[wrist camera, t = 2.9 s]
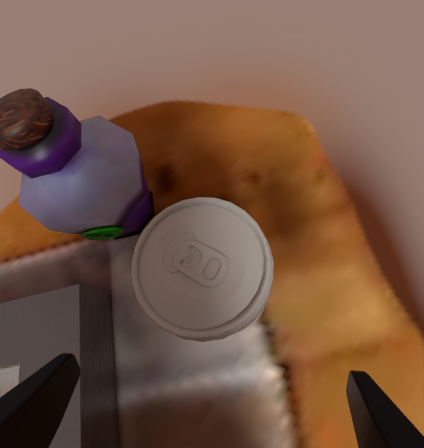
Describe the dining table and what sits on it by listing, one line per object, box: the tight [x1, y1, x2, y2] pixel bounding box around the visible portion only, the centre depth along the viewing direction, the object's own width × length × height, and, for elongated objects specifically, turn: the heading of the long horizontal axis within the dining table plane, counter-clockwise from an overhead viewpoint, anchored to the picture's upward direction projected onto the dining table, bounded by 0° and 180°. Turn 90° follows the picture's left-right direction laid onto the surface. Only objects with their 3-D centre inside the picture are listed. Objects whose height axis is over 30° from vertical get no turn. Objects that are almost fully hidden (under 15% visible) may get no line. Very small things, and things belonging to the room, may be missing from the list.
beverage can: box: [131, 197, 274, 342], centre depth 14 cm, size 5×5×12 cm
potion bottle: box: [0, 88, 154, 240], centre depth 18 cm, size 9×9×12 cm
